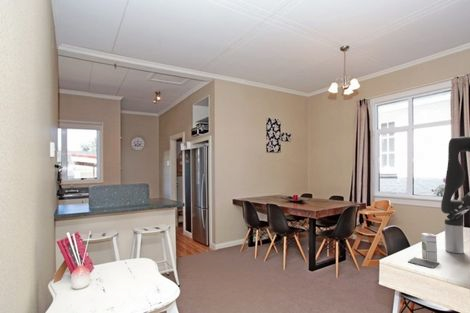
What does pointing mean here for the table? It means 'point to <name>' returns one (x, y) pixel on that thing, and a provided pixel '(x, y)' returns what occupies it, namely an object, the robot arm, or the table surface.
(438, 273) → the table surface
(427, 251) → the syrup box
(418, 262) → the mat
